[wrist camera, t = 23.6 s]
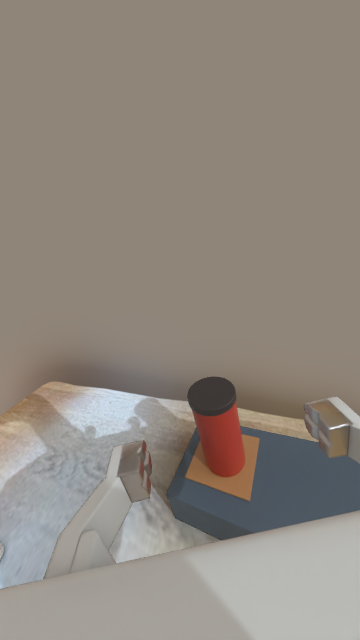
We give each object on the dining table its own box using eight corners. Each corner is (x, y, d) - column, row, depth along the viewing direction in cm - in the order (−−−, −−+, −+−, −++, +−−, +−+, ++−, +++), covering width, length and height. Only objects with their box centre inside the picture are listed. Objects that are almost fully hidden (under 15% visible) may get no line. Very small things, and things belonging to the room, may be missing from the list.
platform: (175, 518, 28) (165, 493, 26) (206, 438, 38) (200, 416, 36) (428, 640, 17) (442, 612, 15) (380, 483, 27) (385, 454, 25)
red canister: (198, 470, 28) (179, 405, 24) (212, 434, 32) (197, 374, 28) (241, 485, 25) (228, 414, 21) (250, 444, 30) (239, 378, 26)
